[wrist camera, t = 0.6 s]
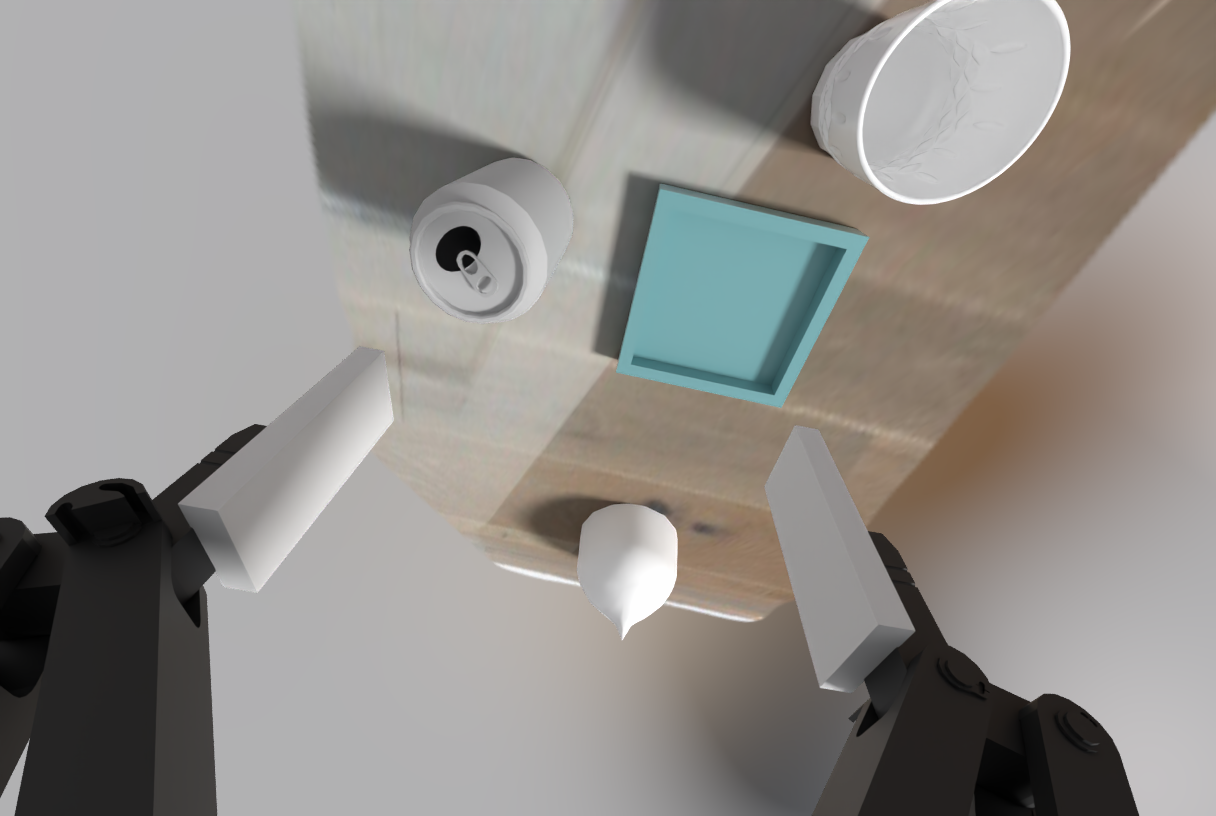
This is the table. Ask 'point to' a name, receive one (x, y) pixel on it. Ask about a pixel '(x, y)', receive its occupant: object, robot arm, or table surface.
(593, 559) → the teardrop
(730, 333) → the tray
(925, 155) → the white cup
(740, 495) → the table surface
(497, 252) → the can
